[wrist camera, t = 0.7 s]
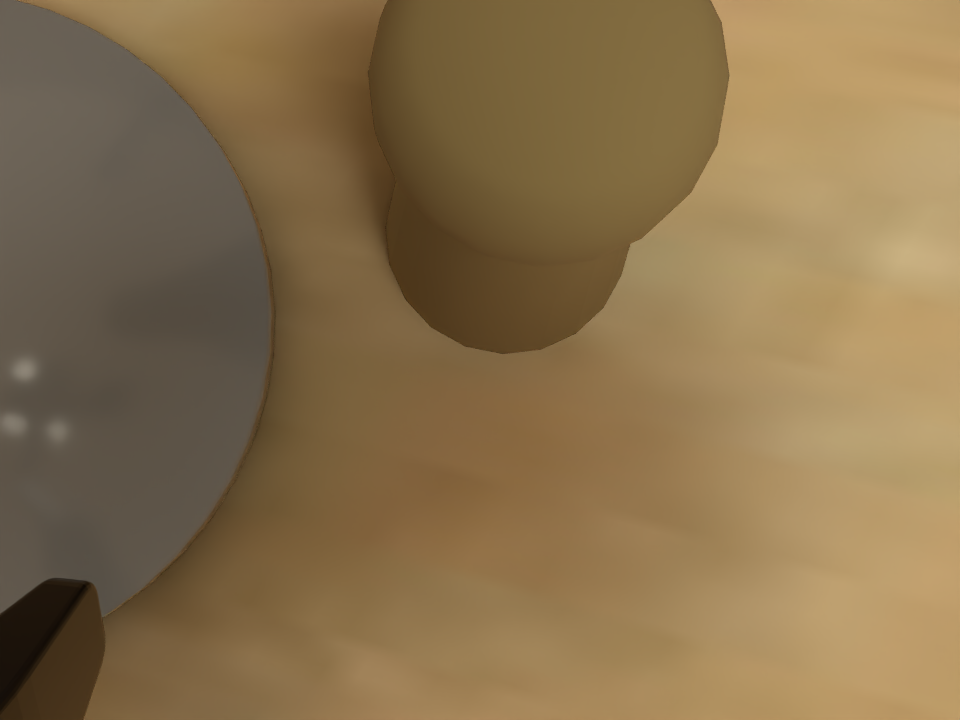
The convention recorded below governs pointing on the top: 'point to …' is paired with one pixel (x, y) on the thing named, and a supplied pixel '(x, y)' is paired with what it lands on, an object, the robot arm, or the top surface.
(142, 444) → the plate
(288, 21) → the top surface
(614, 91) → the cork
